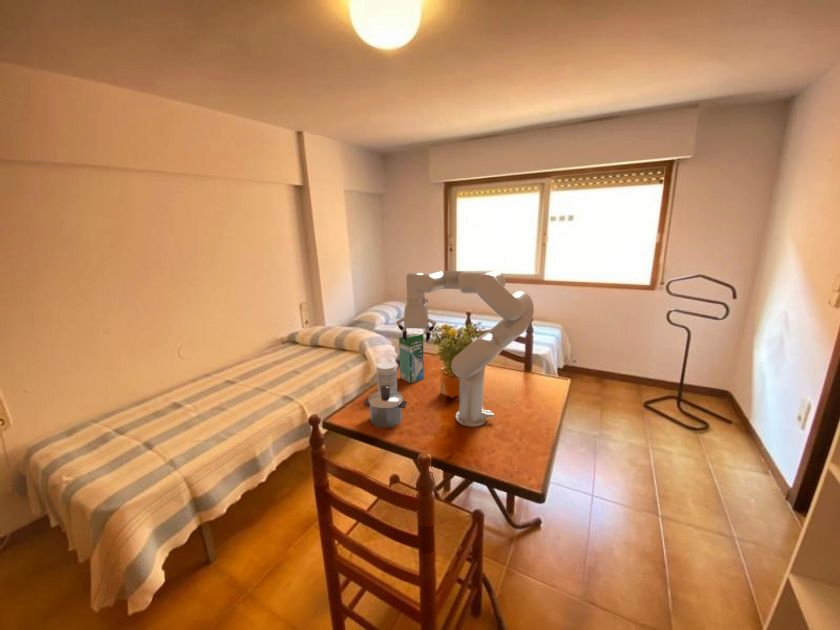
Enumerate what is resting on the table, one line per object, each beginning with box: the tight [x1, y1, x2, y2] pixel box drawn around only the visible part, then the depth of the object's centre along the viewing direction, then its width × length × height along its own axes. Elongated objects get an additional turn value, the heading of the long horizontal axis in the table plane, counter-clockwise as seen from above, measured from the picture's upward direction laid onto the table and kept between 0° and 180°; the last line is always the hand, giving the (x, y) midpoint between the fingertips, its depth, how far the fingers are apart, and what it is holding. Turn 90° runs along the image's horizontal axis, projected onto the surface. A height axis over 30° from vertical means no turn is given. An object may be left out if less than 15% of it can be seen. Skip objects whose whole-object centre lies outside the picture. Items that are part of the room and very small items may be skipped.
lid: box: [367, 385, 404, 409], centre depth 138 cm, size 14×14×7 cm
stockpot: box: [363, 398, 408, 429], centre depth 140 cm, size 17×13×9 cm
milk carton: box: [398, 332, 425, 384], centre depth 177 cm, size 9×9×25 cm
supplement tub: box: [375, 361, 398, 392], centre depth 162 cm, size 10×10×15 cm
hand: (416, 340), depth 147 cm, fingers open, 9 cm apart
